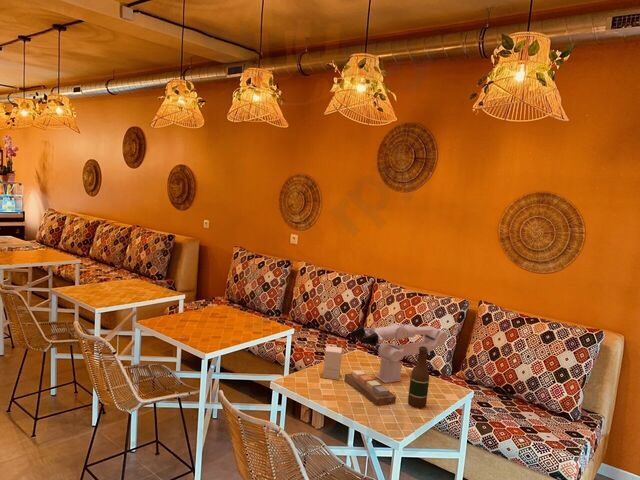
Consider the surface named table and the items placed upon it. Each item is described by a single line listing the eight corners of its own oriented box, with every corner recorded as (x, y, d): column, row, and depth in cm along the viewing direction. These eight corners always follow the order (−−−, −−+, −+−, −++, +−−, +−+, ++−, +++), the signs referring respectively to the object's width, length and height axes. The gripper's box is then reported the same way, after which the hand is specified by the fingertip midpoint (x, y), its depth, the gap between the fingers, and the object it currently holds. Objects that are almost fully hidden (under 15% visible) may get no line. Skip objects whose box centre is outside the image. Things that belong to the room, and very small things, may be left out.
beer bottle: (422, 410, 192) (429, 352, 190) (404, 404, 196) (411, 347, 194) (428, 404, 199) (436, 347, 196) (411, 398, 203) (417, 343, 200)
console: (361, 378, 219) (362, 372, 219) (395, 403, 196) (396, 396, 196) (344, 380, 215) (345, 374, 215) (376, 406, 192) (377, 398, 192)
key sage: (374, 385, 206) (375, 380, 206) (380, 390, 202) (381, 384, 202) (366, 386, 204) (366, 381, 204) (371, 391, 200) (372, 385, 200)
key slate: (382, 391, 200) (383, 386, 200) (388, 396, 197) (389, 390, 196) (373, 392, 198) (374, 387, 198) (379, 397, 195) (380, 391, 194)
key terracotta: (367, 380, 211) (367, 375, 211) (372, 384, 207) (373, 379, 207) (358, 381, 209) (359, 375, 209) (364, 385, 205) (364, 379, 205)
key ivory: (360, 375, 216) (360, 370, 216) (365, 379, 212) (365, 373, 212) (351, 376, 214) (352, 370, 214) (356, 379, 210) (357, 374, 210)
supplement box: (339, 374, 222) (342, 347, 221) (338, 380, 215) (341, 352, 214) (323, 372, 223) (326, 345, 222) (322, 378, 216) (325, 350, 214)
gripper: (372, 319, 222) (347, 323, 215) (392, 331, 210) (366, 334, 203) (370, 334, 223) (346, 338, 216) (390, 346, 211) (365, 350, 204)
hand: (356, 337), depth 210 cm, fingers open, 7 cm apart
